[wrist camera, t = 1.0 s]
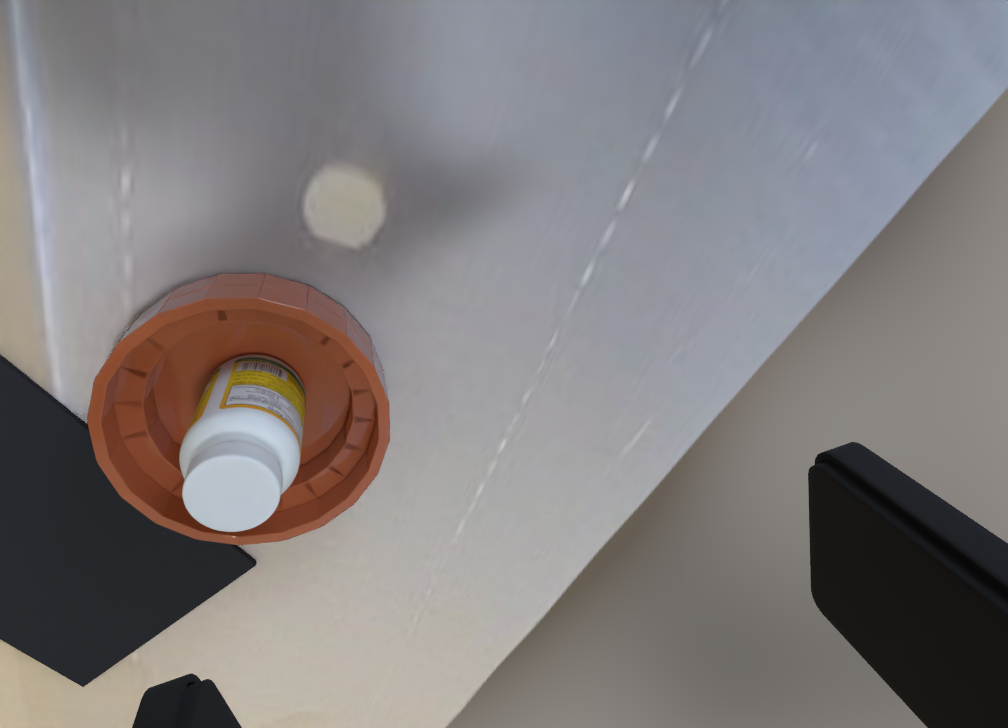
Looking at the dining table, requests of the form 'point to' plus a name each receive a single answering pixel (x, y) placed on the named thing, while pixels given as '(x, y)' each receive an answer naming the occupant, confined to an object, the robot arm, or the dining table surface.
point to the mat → (85, 546)
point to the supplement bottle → (243, 443)
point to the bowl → (186, 371)
